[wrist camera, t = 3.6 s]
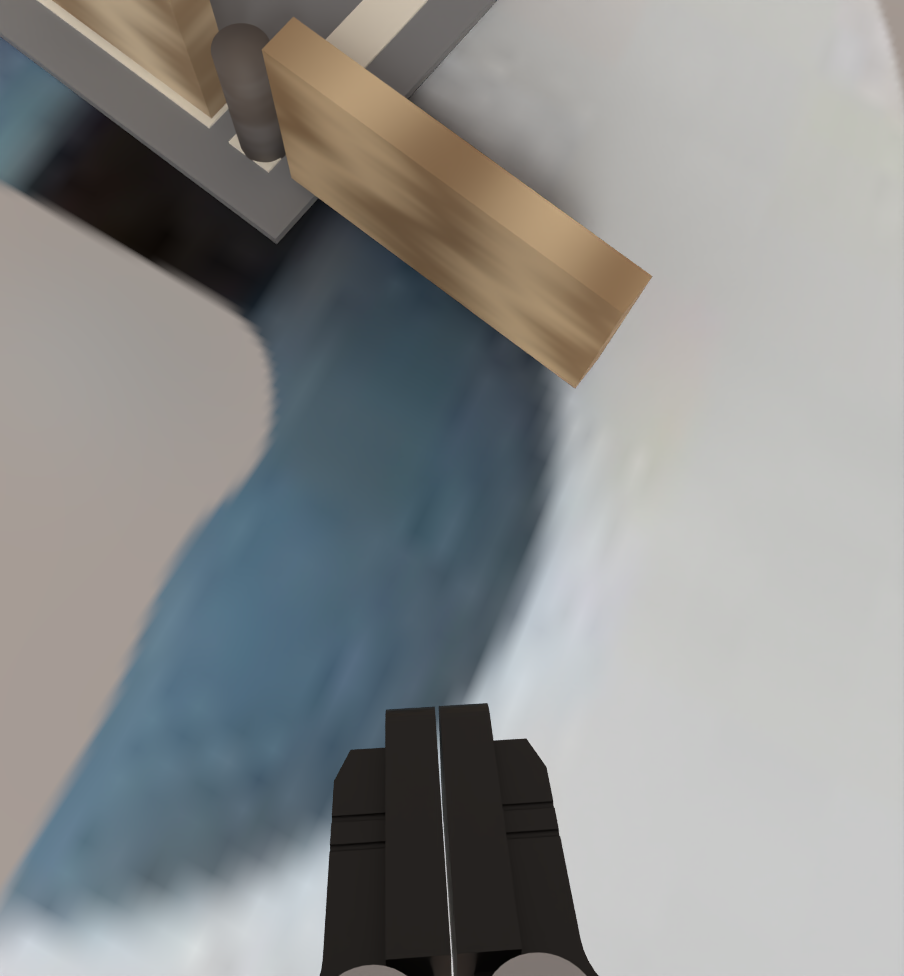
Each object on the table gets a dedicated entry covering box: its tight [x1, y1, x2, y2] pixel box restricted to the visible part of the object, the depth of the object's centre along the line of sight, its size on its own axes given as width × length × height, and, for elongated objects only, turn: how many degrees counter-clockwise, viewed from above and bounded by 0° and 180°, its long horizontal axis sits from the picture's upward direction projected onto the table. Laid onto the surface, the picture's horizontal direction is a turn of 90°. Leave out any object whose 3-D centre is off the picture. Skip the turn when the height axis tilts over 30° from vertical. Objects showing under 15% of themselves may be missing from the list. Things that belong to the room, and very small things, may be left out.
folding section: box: [262, 17, 652, 388], centre depth 29 cm, size 14×2×7 cm, turn 52°
